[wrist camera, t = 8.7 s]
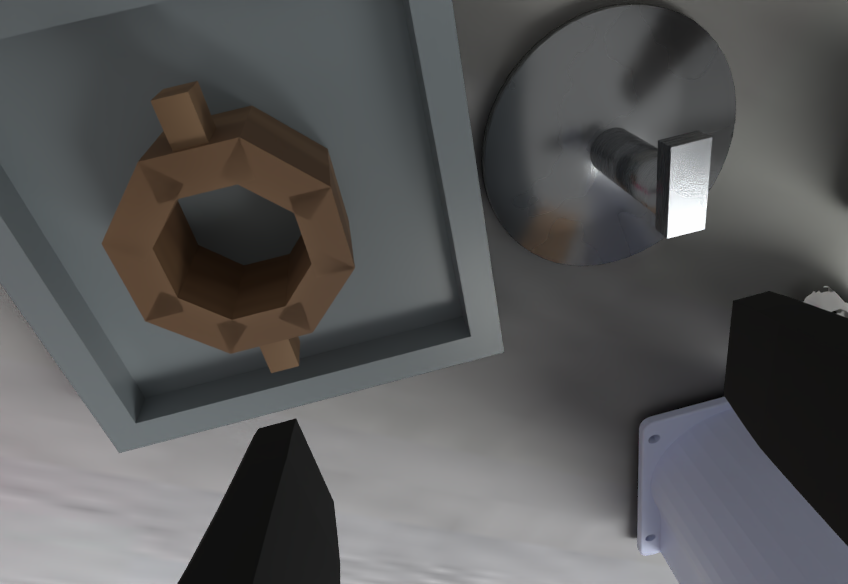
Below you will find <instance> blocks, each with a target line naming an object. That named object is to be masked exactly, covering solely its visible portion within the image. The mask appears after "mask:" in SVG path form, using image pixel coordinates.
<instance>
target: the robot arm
mask: <svg viewBox="0 0 848 584" xmlns="http://www.w3.org/2000/svg"><path fill="white" fill-rule="evenodd" d="M723 395H724V396H725V397H721V398H718V399H714V400H710V401H706V402H703V403H699V404H695V405H692V406H688V407H684V408H680V409H677V410H673V411H669V412H666V413H662V414H658V415H654V416H651V417H648V418H646V419H645V420H643V421H642V423H641V424H640V427H639V466H638V526H637V547H638V550H639V551H640V553H641V554H642V555H646V556H647V555H652V554H655V553H659V552H661V553H662V555H663V556H664V558H665V560H666V562H667V563H668V565H669V567H670V569H671V570H672V572H673V574H674V575H675V577H676V579H677V581H678V582H679V584H848V318H846V317H844V316H841V315H838V314H835V313H833V312H830V311H827V310H824V309H821V308H819V307H816V306H813V305H810V304H807V303H805V302H802V301H799V300H796V299H793V298H790V297H787V296H784V295H780V294H777V293H774V292H770V291H768V292H764V293H761V294H757V295H753V296H749V297H746V298H742V299H738V300H735V301H733V306H732V316H731V326H730V336H729V345H728V355H727V365H726V374H725V384H724V394H723ZM178 584H340V558H339V547H338V537H337V527H336V518H335V509H334V501H333V499H332V497H331V495H330V492H329V490H328V488H327V486H326V484H325V481H324V479H323V477H322V475H321V473H320V470H319V468H318V466H317V464H316V461H315V459H314V457H313V455H312V453H311V450H310V448H309V446H308V444H307V441H306V439H305V437H304V435H303V433H302V430H301V428H300V426H299V424H298V422H297V419H293V420H289V421H285V422H282V423H278V424H274V425H270V426H267V427H263V428H259V429H258V430H257V432H256V433H255V435H254V437H253V439H252V441H251V443H250V445H249V447H248V449H247V451H246V453H245V455H244V457H243V459H242V461H241V463H240V465H239V467H238V469H237V471H236V474H235V476H234V478H233V480H232V482H231V484H230V486H229V488H228V490H227V492H226V494H225V496H224V498H223V500H222V502H221V504H220V506H219V508H218V510H217V512H216V514H215V515H214V517H213V519H212V521H211V523H210V525H209V527H208V529H207V531H206V532H205V534H204V536H203V538H202V540H201V542H200V544H199V546H198V548H197V549H196V551H195V553H194V555H193V557H192V559H191V561H190V562H189V564H188V566H187V568H186V570H185V571H184V573H183V575H182V577H181V578H180V580H179V582H178Z"/></svg>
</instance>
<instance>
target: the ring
mask: <svg viewBox="0 0 848 584" xmlns="http://www.w3.org/2000/svg"><path fill="white" fill-rule="evenodd" d="M151 104H152V106H153V108H154V110H155V113H156V115H157V117H158V119H159V122H160V124H161V126H162V128H163V132H162V133H161V135H160V136H159V137H158V138H157V139H156V141H155V142H154V143H153V144H152V145H151V147H150V148H149V149H148V150H147V151H146V153H145V154H144V155H143V156H142V157H141V159H140V160H139V161H138V163H137V165H136V167H135V169H134V172H133V174H132V176H131V178H130V181H129V183H128V185H127V187H126V190H125V192H124V194H123V196H122V199H121V201H120V203H119V205H118V207H117V210H116V212H115V214H114V216H113V219H112V221H111V223H110V225H109V228H108V230H107V232H106V234H105V237H104V239H103V241H102V243H101V244H102V246H103V247H104V249H105V251H106V253H107V254H108V256H109V258H110V260H111V262H112V263H113V265H114V267H115V269H116V270H117V272H118V274H119V276H120V277H121V279H122V281H123V283H124V285H125V286H126V288H127V290H128V292H129V293H130V295H131V297H132V299H133V301H134V302H135V304H136V306H137V308H138V309H139V311H140V313H141V315H142V316H143V318H144V320H145V321H146V322H148V323H151V324H153V325H156V326H159V327H161V328H164V329H167V330H169V331H172V332H175V333H177V334H180V335H182V336H185V337H188V338H190V339H193V340H196V341H198V342H201V343H203V344H206V345H209V346H211V347H214V348H217V349H219V350H222V351H224V352H227V353H230V354H232V353H236V352H240V351H244V350H248V349H251V348H255V347H260V349H261V351H262V354H263V356H264V358H265V360H266V363H267V365H268V367H269V369H270V372H271V373H274V372H278V371H282V370H286V369H289V368H293V367H297V366H299V355H300V340H299V337H298V336H302V335H306V334H310V333H313V331H314V330H315V328H316V327H317V325H318V324H319V322H320V321H321V319H322V318H323V316H324V315H325V313H326V312H327V310H328V308H329V307H330V305H331V304H332V302H333V301H334V299H335V298H336V296H337V295H338V293H339V292H340V290H341V289H342V287H343V286H344V284H345V283H346V281H347V280H348V278H349V276H350V275H351V273H352V272H353V270H354V269H355V264H354V257H353V249H352V241H351V234H350V226H349V220H348V217H347V213H346V210H345V206H344V203H343V199H342V196H341V193H340V189H339V186H338V182H337V179H336V176H335V172H334V169H333V165H332V162H331V158H330V155H329V152H328V149H327V148H325V147H324V146H322V145H320V144H318V143H317V142H315V141H313V140H311V139H310V138H308V137H306V136H304V135H303V134H301V133H299V132H297V131H296V130H294V129H292V128H290V127H289V126H287V125H285V124H283V123H282V122H280V121H278V120H276V119H275V118H273V117H271V116H270V115H268V114H266V113H264V112H263V111H261V110H259V109H257V108H256V107H254V106H248V107H244V108H239V109H235V110H231V111H227V112H223V113H219V114H214V115H211V113H210V111H209V108H208V106H207V103H206V101H205V98H204V96H203V93H202V90H201V88H200V85H199V83H198V81H195V82H191V83H186V84H182V85H178V86H174V87H170V88H165V89H163V90H161V91H160V92H159V93H158V94H157V95H156V96H155V97H154V98H153V99H152V100H151ZM237 184H238V185H240V186H242V187H244V188H246V189H248V190H250V191H252V192H254V193H256V194H257V195H259V196H261V197H263V198H265V199H267V200H269V201H271V202H273V203H275V204H277V205H279V206H281V207H283V208H285V209H287V210H289V211H291V212H293V213H294V214H295V217H296V220H297V223H298V226H299V228H300V231H301V236H300V237H299V239H298V241H297V242H296V244H295V246H294V247H293V249H292V251H291V252H290V254H287V255H283V256H279V257H275V258H271V259H267V260H263V261H259V262H256V263H252V264H248V265H242V264H240V263H237V262H235V261H233V260H231V259H229V258H226V257H224V256H222V255H220V254H218V253H215V252H213V251H211V250H209V249H206V248H204V247H202V246H200V245H198V243H197V241H196V239H195V237H194V234H193V232H192V230H191V228H190V226H189V224H188V221H187V219H186V217H185V215H184V213H183V211H182V208H181V206H180V204H179V202H178V200H179V199H180V198H184V197H188V196H192V195H196V194H201V193H205V192H209V191H213V190H217V189H221V188H225V187H229V186H233V185H237Z"/></svg>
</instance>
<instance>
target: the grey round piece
mask: <svg viewBox="0 0 848 584" xmlns="http://www.w3.org/2000/svg"><path fill="white" fill-rule="evenodd" d="M735 114H736V98H735V87H734V83H733V79H732V74H731V71H730V68H729V66H728V63H727V61H726V58H725V56H724V54H723V53H722V51H721V49H720V48H719V46H718V44H717V43H716V42H715V40H714V39H713V38H712V37H711V36H710V35H709V34H708V32H707V31H706V30H704V29H703V28H702V27H701V26H699V25H698V24H697V23H696V22H695V21H693V20H691V19H689V18H688V17H686V16H684V15H682V14H680V13H678V12H675V11H672V10H669V9H666V8H662V7H655V6H649V5H642V4H620V5H614V6H608V7H602V8H599V9H596V10H593V11H590V12H586V13H584V14H582V15H580V16H578V17H575V18H573V19H571V20H569V21H567V22H566V23H564V24H562V25H561V26H559V27H558V28H556V29H554V30H553V31H551V32H550V33H549V34H548V35H546V36H545V37H544V38H543V39H541V40H540V41H539V42H538V43H537V44H535V45H534V46H533V47H532V49H531V50H530V51H529V52H528V53H527V54H526V55H525V56H524V57H523V58H522V59H521V60H520V62H519V63H518V64H517V65H516V67H515V68H514V69H513V71H512V72H511V73H510V75H509V76H508V78H507V80H506V81H505V83H504V85H503V86H502V88H501V90H500V91H499V94H498V96H497V98H496V100H495V102H494V105H493V107H492V109H491V112H490V116H489V119H488V122H487V125H486V129H485V135H484V140H483V149H482V170H483V179H484V184H485V189H486V193H487V196H488V198H489V201H490V204H491V206H492V208H493V210H494V212H495V214H496V216H497V217H498V219H499V221H500V222H501V224H502V225H503V226H504V227H505V229H506V230H507V231H508V233H509V234H510V235H511V236H512V237H513V238H514V239H515V240H516V241H517V242H518V243H519V244H520V245H522V246H523V247H524V248H526V249H527V250H529V251H530V252H532V253H534V254H536V255H538V256H540V257H542V258H544V259H547V260H550V261H553V262H556V263H561V264H567V265H578V266H588V265H600V264H605V263H610V262H614V261H618V260H621V259H624V258H627V257H630V256H632V255H634V254H636V253H639V252H641V251H643V250H645V249H647V248H648V247H650V246H652V245H654V244H656V243H657V242H659V241H660V240H661V239H663V238H664V237H666V238H667V239H668V238H672V237H676V236H680V235H684V234H687V233H691V232H695V231H699V230H703V229H705V221H706V209H707V197H708V192H709V190H710V189H711V187H712V186H713V184H714V182H715V180H716V178H717V176H718V175H719V173H720V171H721V169H722V166H723V164H724V161H725V159H726V156H727V154H728V151H729V147H730V144H731V140H732V137H733V131H734V124H735Z"/></svg>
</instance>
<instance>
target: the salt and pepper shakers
mask: <svg viewBox="0 0 848 584" xmlns="http://www.w3.org/2000/svg"><path fill="white" fill-rule="evenodd" d="M824 287H828V286H824ZM824 287H823V288H824ZM803 302H805V303H807V304H810V305H813V306H816V307H819V308H821V309H824V310H827V311H830V312H832V311H836V312H837V314H838V315H841V316H844V317H846V318H848V303H845V302H844V301H843V300H842V299H841V298H840V296H839V295H838V294H837V293H836V292H835V291H833V290H832V289H831V288H830V287H829V291H828V292H827V291H826V292H822V293H821V292H820V291H818V292H816V293H815V291H813V292H812V294H811V295H809V296H807V297H806V298H805V300H804V301H803Z"/></svg>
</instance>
